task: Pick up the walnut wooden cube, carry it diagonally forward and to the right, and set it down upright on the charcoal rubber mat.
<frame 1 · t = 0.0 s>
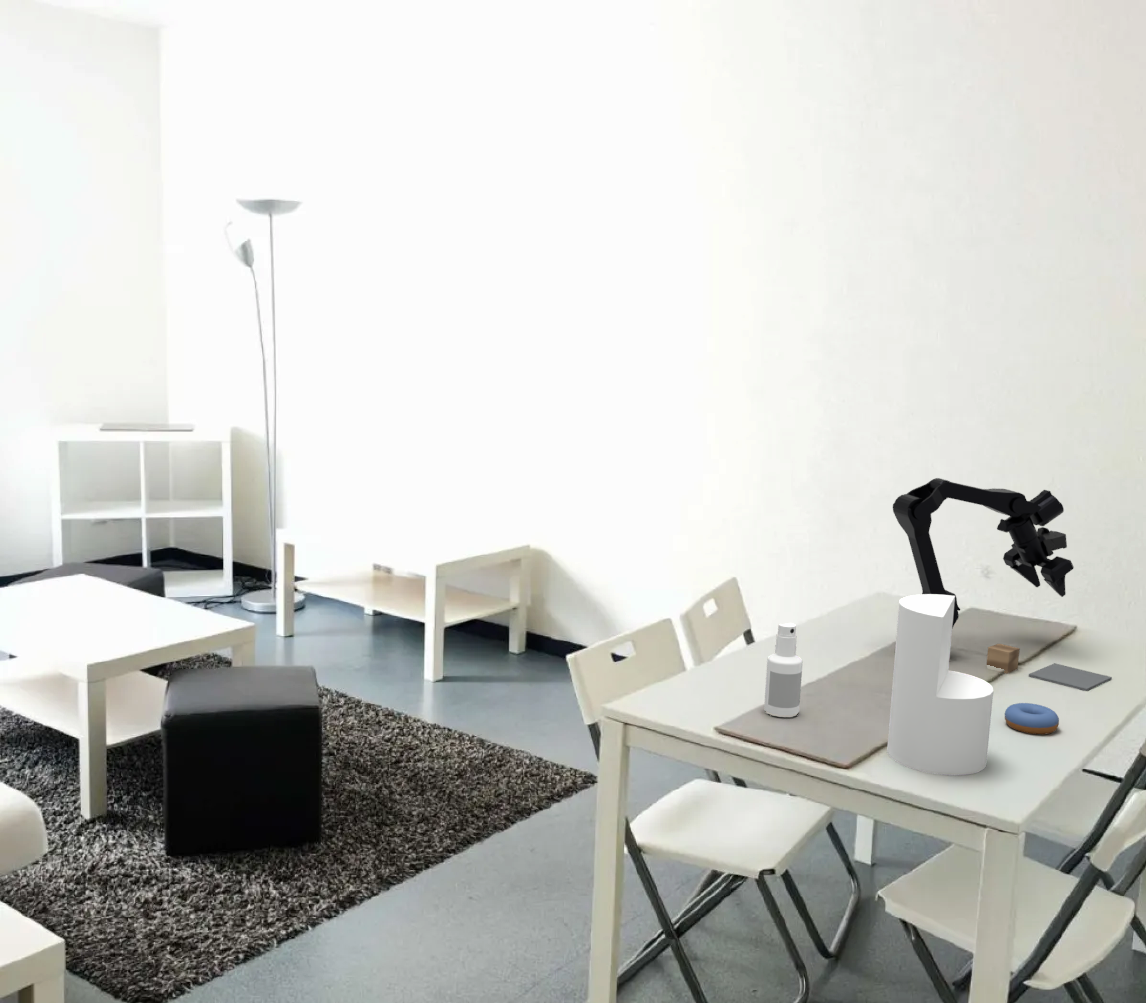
hand: (1050, 590, 285), 15 cm above the table, tool tilted 35°, fingers open, 9 cm apart
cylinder: (935, 757, 218), on the table
doughnut: (1030, 729, 236), on the table
spray bottle: (781, 713, 239), on the table
charcoal mat: (1070, 677, 268), on the table
walnut cube: (1001, 669, 273), on the table
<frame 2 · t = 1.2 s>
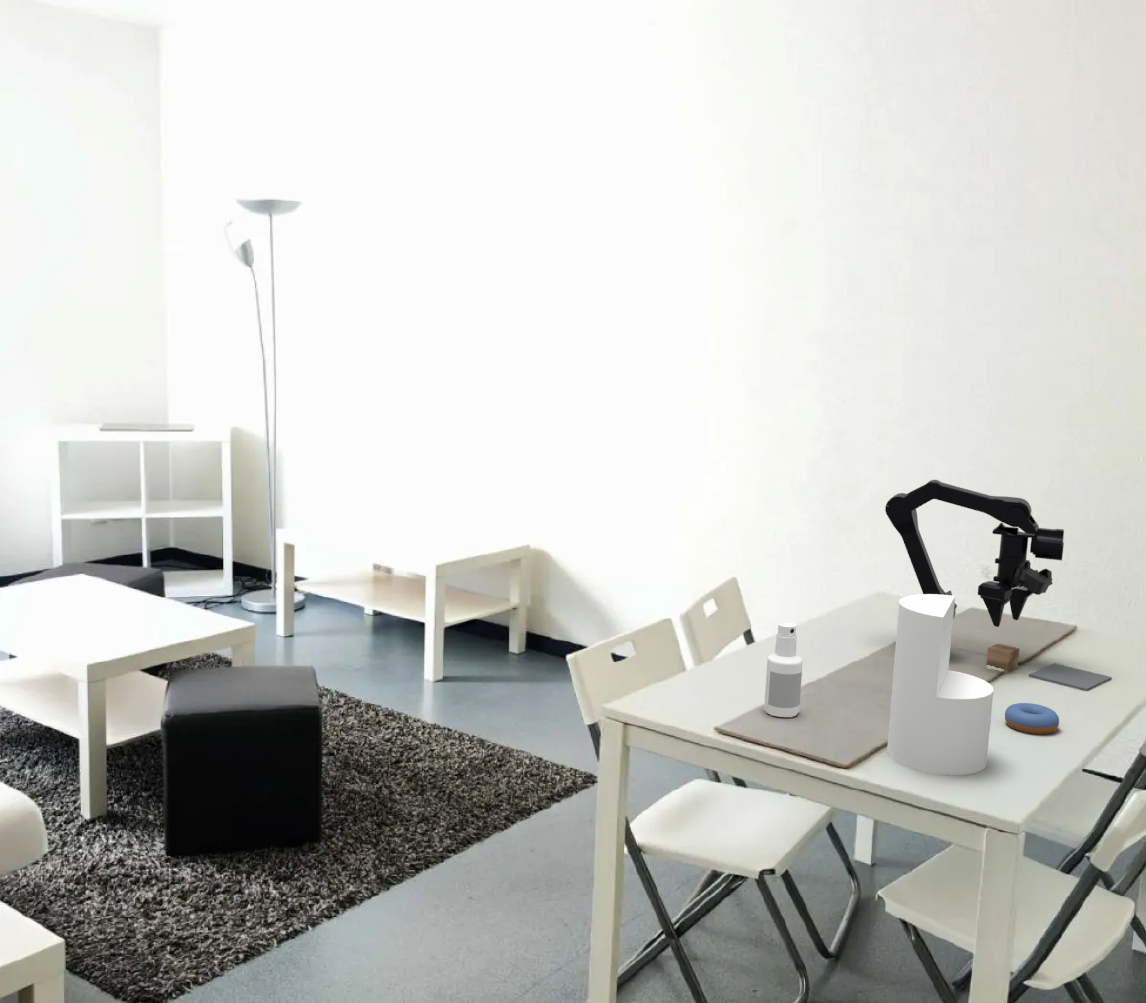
hand: (1006, 623, 271), 11 cm above the table, tool pointing down, fingers open, 9 cm apart
nothing on the table moved.
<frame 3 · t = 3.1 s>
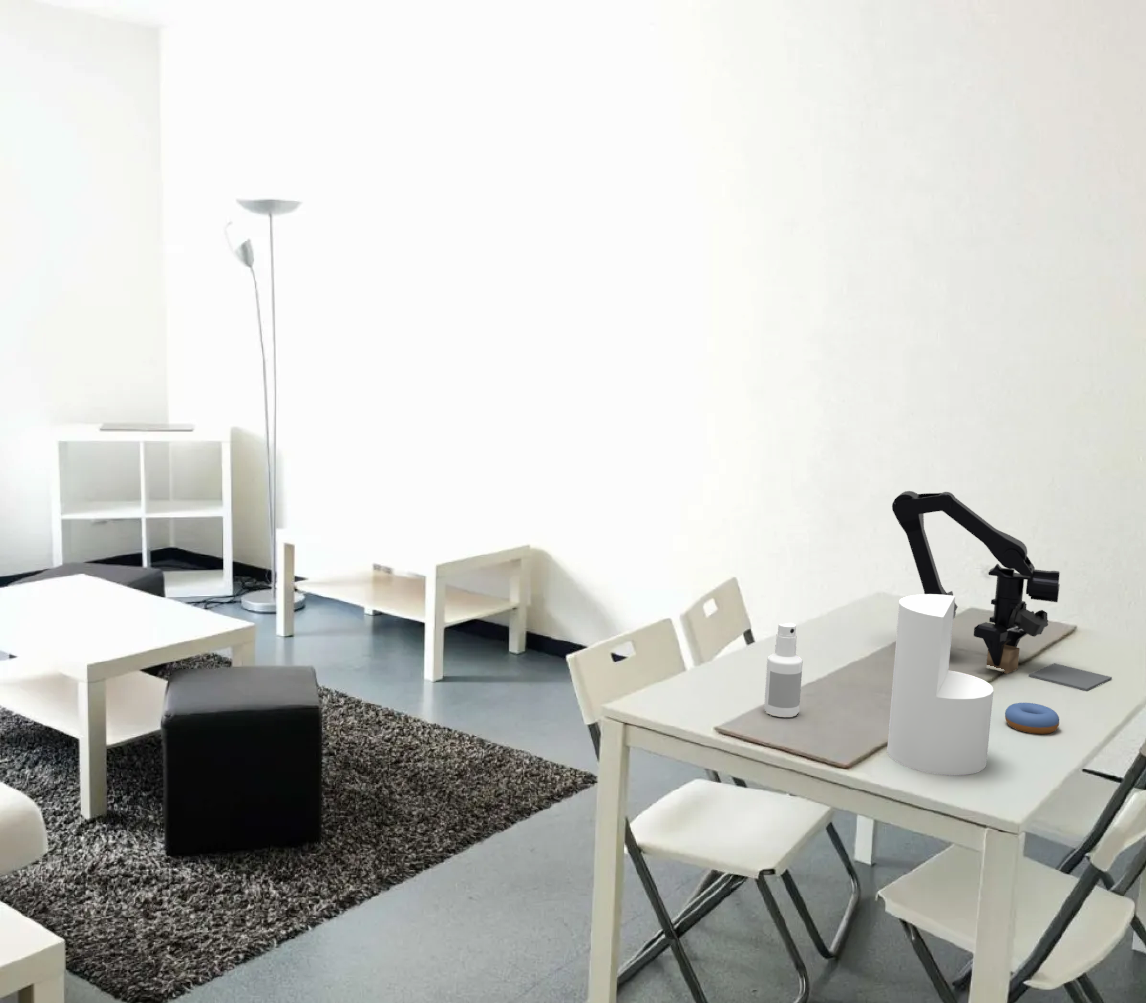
hand: (1002, 663, 273), 1 cm above the table, tool pointing down, fingers closed on walnut cube, 5 cm apart
walnut cube: (1001, 668, 273), on the table, touching gripper
everything else where it was.
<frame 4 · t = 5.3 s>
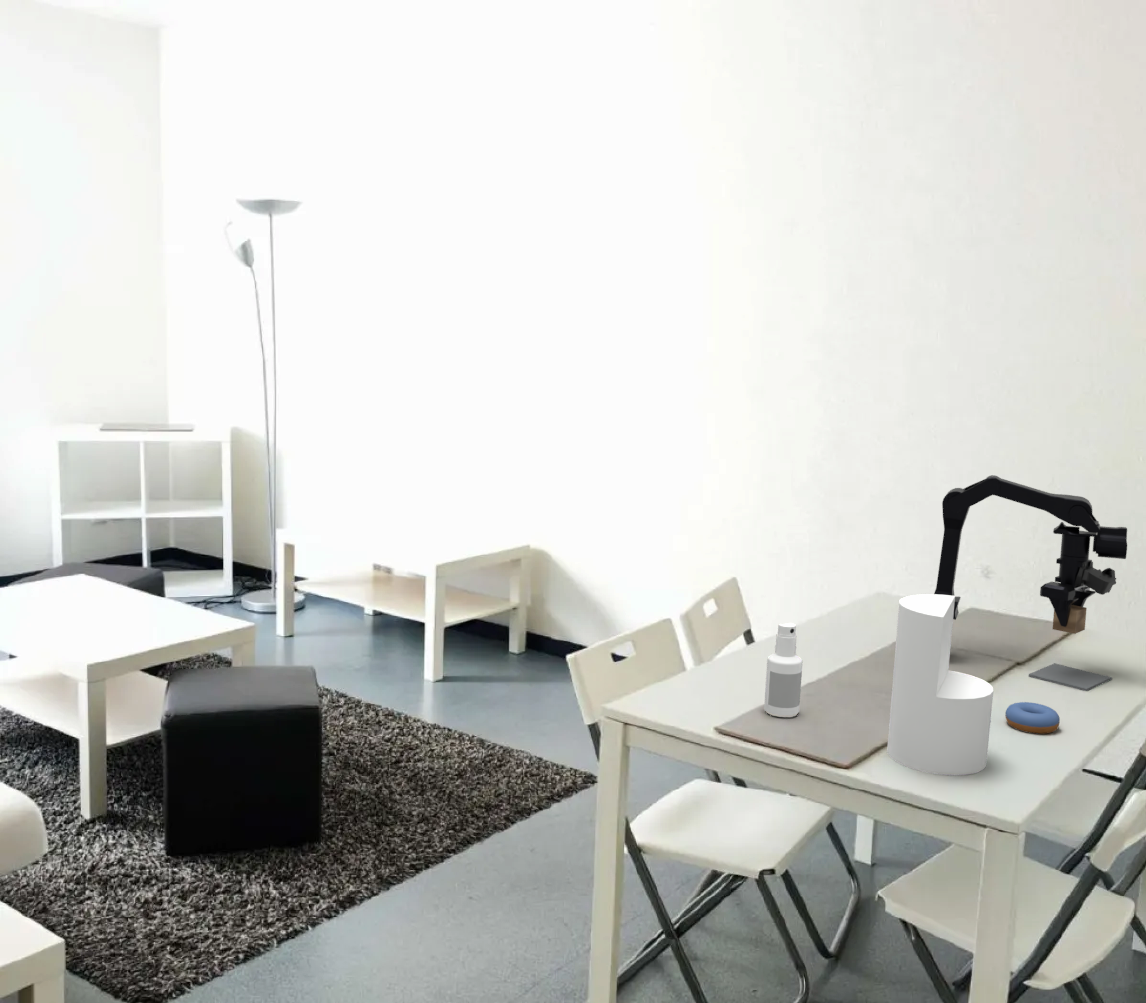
hand: (1069, 624, 266), 12 cm above the table, tool pointing down, fingers closed on walnut cube, 5 cm apart
walnut cube: (1068, 629, 267), point 11 cm above the table, touching gripper
everything else where it was.
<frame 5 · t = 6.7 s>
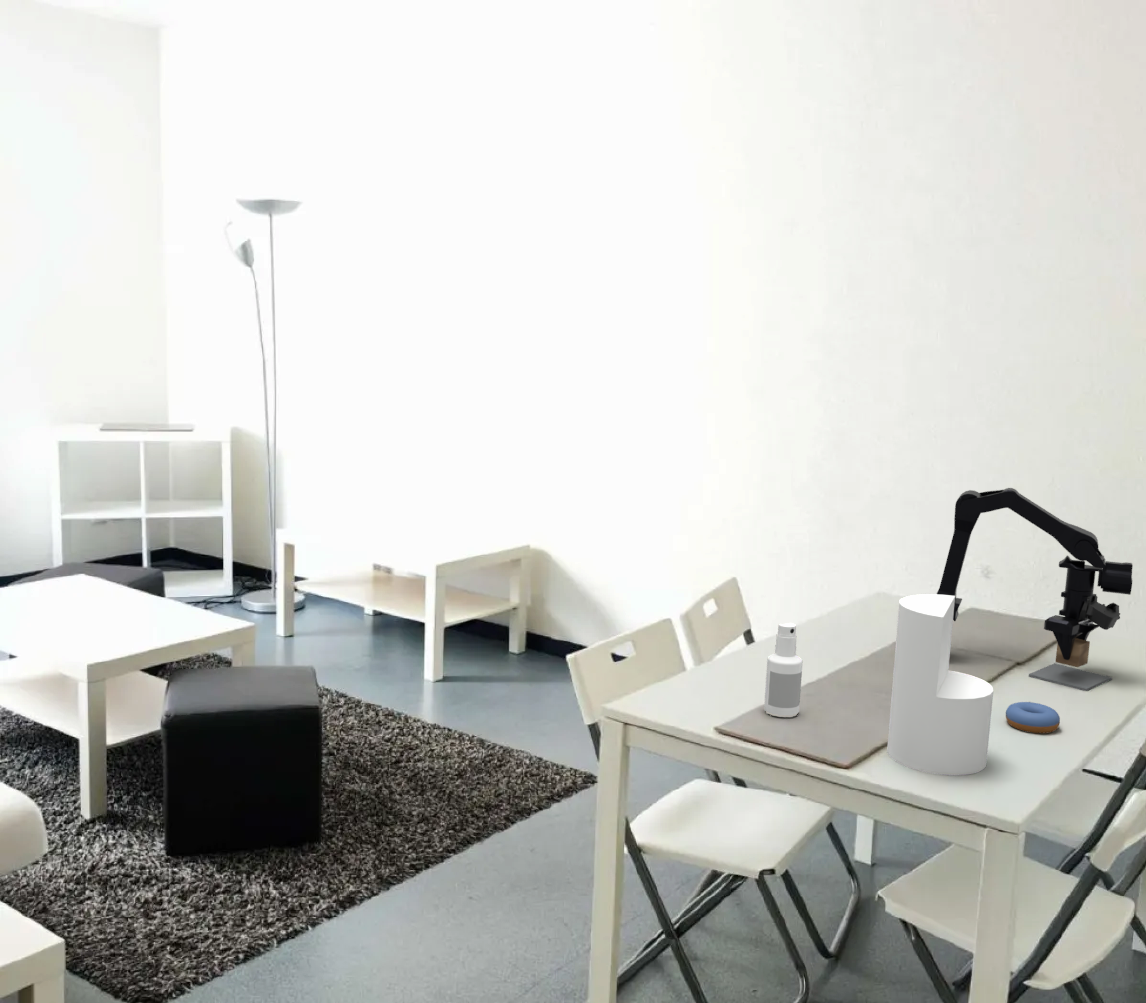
hand: (1071, 657, 267), 5 cm above the table, tool pointing down, fingers closed on walnut cube, 5 cm apart
walnut cube: (1071, 662, 267), point 3 cm above the table, touching gripper
everything else where it was.
when the fingers open (3 cm above the table, at t = 7.9 s): walnut cube drops 1 cm, resting on charcoal mat.
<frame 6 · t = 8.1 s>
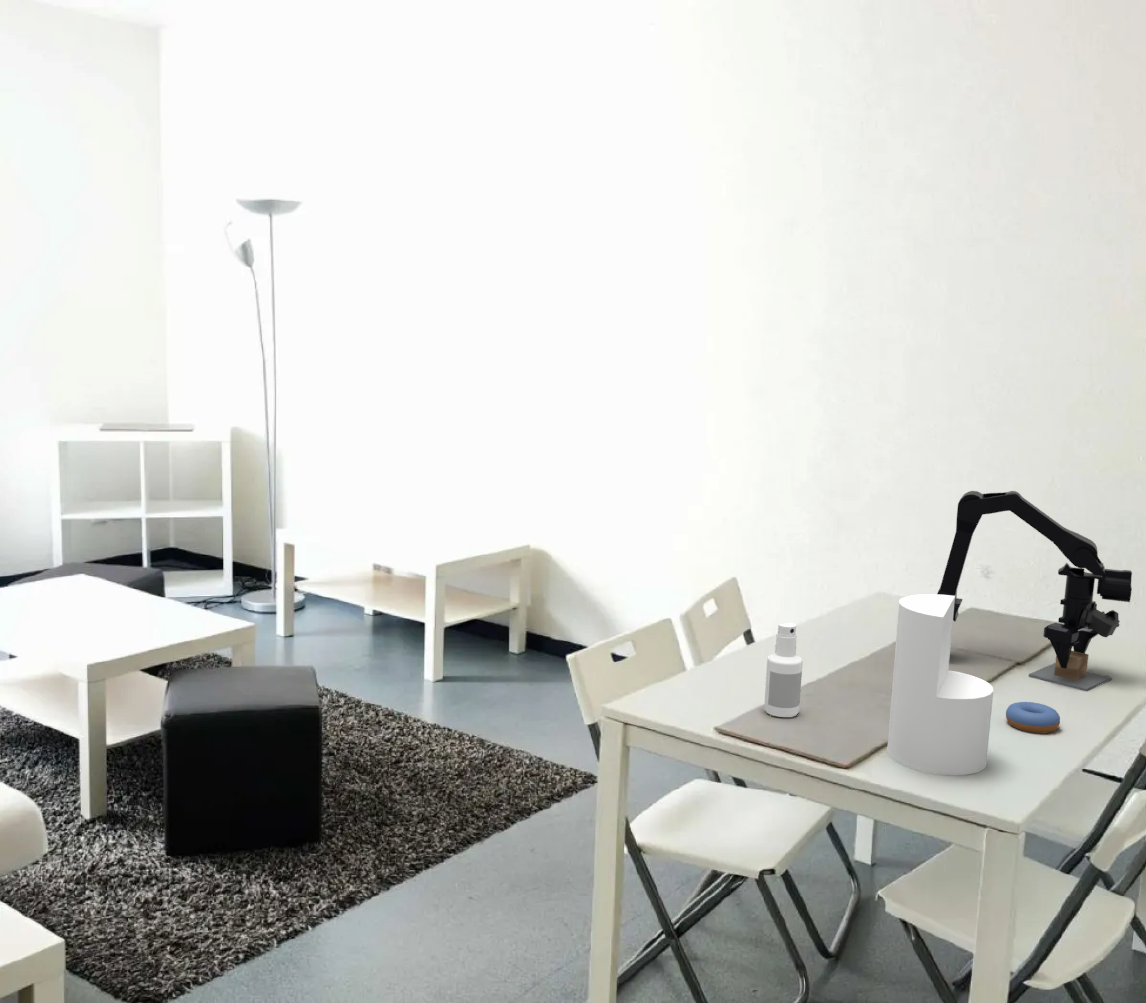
hand: (1071, 664, 268), 3 cm above the table, tool pointing down, fingers open, 7 cm apart
walnut cube: (1070, 675, 268), resting on charcoal mat
everything else where it was.
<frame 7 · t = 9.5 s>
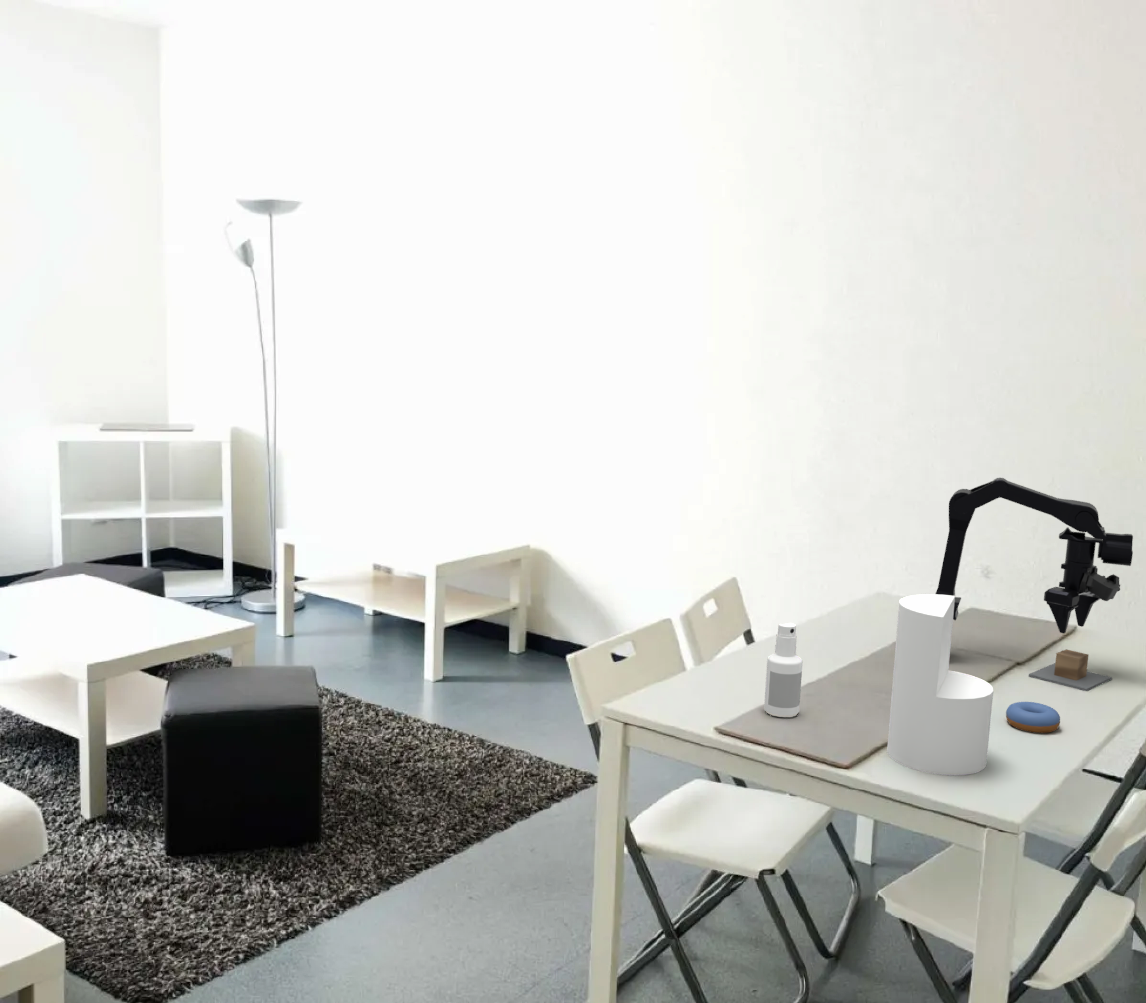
hand: (1071, 629, 267), 11 cm above the table, tool pointing down, fingers open, 9 cm apart
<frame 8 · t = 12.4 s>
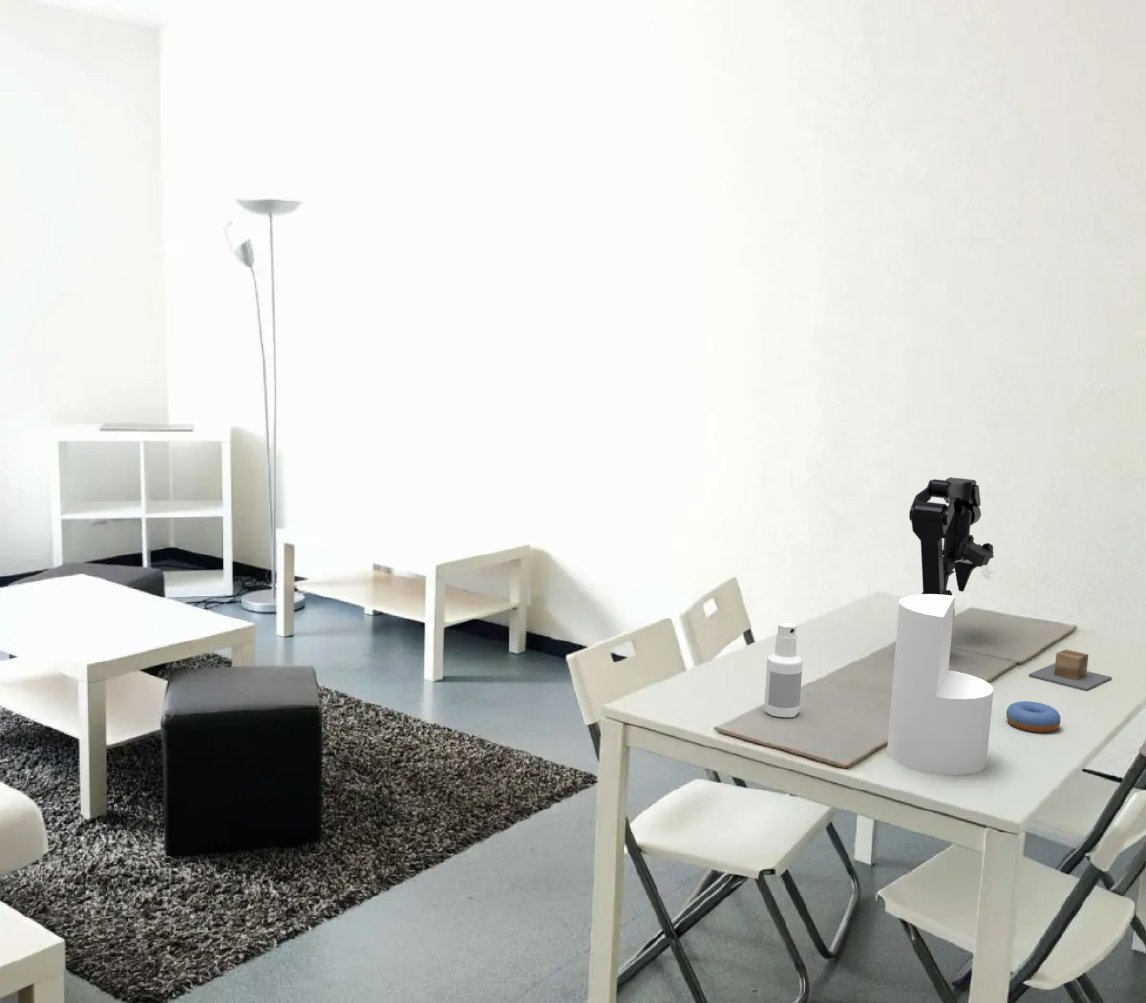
hand: (951, 594, 291), 12 cm above the table, tool pointing down, fingers open, 9 cm apart
at the end: walnut cube inside the target area on the charcoal mat (0.1 cm from its centre), point 0.5 cm above the charcoal mat's base; walnut cube tilted 0°; the gripper is holding nothing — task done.
